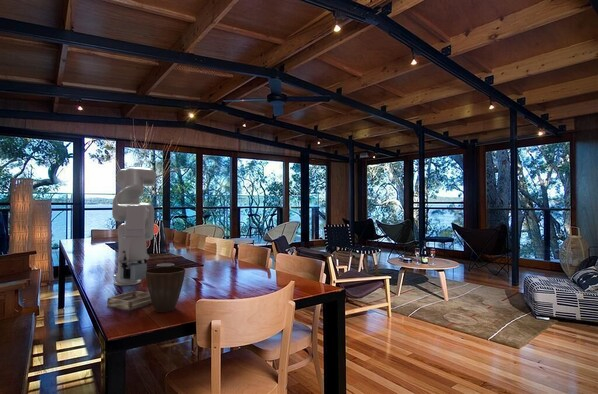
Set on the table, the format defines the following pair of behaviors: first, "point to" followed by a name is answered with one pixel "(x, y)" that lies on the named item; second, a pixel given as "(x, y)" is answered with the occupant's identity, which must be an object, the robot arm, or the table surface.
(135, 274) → the slate crate
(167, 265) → the coffee mug
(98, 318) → the table surface
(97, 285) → the table surface
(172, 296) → the plant pot
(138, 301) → the birch crate
